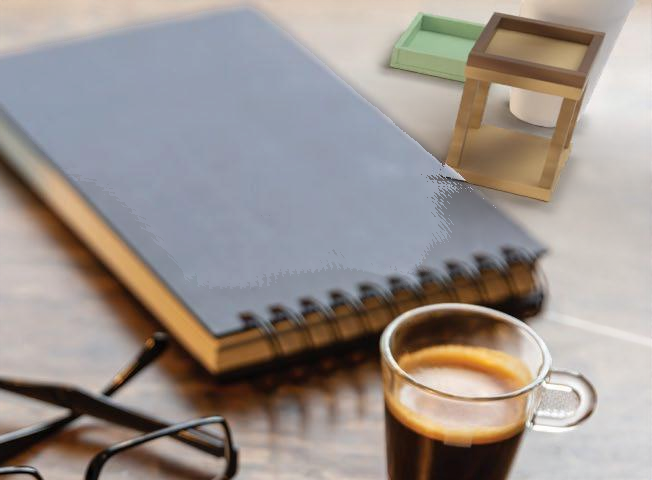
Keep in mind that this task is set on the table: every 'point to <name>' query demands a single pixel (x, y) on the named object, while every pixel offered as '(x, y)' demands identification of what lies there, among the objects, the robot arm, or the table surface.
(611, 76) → the table surface
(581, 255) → the table surface
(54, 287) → the table surface
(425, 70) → the tray
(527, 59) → the stand
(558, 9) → the foam cup
